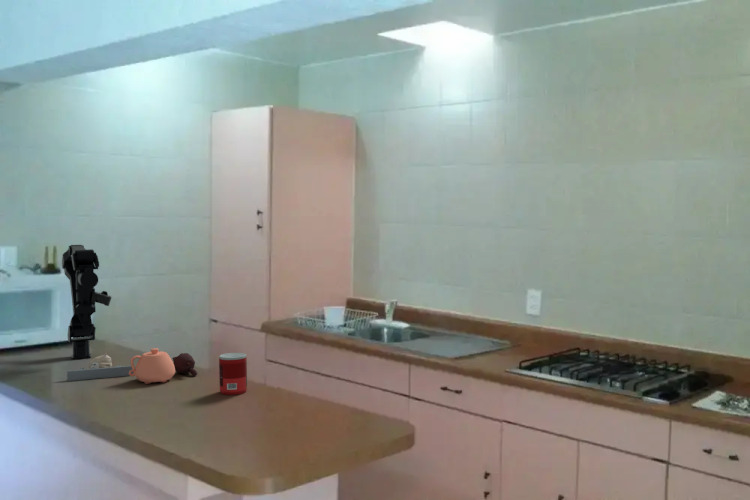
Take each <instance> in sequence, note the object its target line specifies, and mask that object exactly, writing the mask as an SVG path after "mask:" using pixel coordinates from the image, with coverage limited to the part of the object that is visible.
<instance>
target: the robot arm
mask: <svg viewBox="0 0 750 500" xmlns="http://www.w3.org/2000/svg"><path fill="white" fill-rule="evenodd" d="M99 267H100V262H99V256H98V255H97V253H96V252H95V250H94V249H93V248H91V249H86V248H85V247H84V244H71V245H68V248H67V249H66V251H65V252H64V253H63V254H62V258H61V268H62V270H64V275H65V276H66V278H67V279H68V280H69V285H70V294H71V296H70V297H71V303H72V304H71V305H72V314H73V315H72V317H71V319H70V322H69V325H68V330H67V341H68V342H69V343H72V355H71V360H79V359H90V358H92V353H91V352H90V351H91V350H90V348H91V347H90V341H94V340H96V329H97V327H96V326H95V324H94V323H93V322H92V317H91V316H92V315H93V314H94V313H96V303H98V304H100V305H101V304H102V305H104V306H106V307H109V306H110V303H111V302H112V301H111V300H112V296H111V295H108V291H106V290H102V291H101V292H97V291H96V289H95V287H96V286H97V285H98V283H99V277H98V274H97V273H96V272H95V271H94V270H99Z"/></svg>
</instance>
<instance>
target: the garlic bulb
mask: <svg viewBox="0 0 750 500" xmlns="http://www.w3.org/2000/svg"><path fill="white" fill-rule="evenodd" d="M108 353H109V351H108V350H107V351H106V352H104V354H102V355H99V356H96V357H94V358H92V359H91V360H90V361H89V363H88V364H89V365H88V369H96V368H108V367H113V363H112V357H111V356H109V355H108Z"/></svg>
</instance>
